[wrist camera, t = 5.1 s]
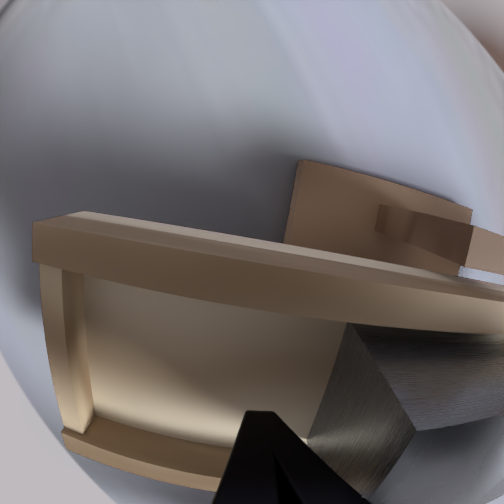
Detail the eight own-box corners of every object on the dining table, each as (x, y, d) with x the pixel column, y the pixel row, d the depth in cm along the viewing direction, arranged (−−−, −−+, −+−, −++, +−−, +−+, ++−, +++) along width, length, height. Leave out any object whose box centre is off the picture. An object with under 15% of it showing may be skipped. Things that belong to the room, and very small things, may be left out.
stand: (390, 413, 17) (437, 483, 10) (245, 417, 16) (258, 517, 9) (461, 207, 14) (557, 230, 7) (298, 160, 13) (372, 145, 6)
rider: (456, 427, 9) (502, 495, 5) (306, 439, 9) (325, 547, 5) (506, 329, 8) (580, 385, 4) (347, 318, 8) (417, 430, 4)
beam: (526, 417, 11) (546, 439, 8) (92, 407, 10) (66, 449, 8) (579, 301, 9) (607, 316, 7) (84, 211, 9) (32, 222, 6)
